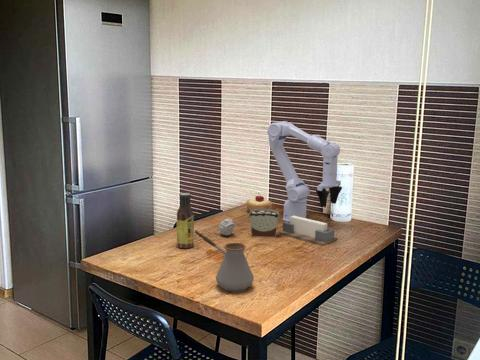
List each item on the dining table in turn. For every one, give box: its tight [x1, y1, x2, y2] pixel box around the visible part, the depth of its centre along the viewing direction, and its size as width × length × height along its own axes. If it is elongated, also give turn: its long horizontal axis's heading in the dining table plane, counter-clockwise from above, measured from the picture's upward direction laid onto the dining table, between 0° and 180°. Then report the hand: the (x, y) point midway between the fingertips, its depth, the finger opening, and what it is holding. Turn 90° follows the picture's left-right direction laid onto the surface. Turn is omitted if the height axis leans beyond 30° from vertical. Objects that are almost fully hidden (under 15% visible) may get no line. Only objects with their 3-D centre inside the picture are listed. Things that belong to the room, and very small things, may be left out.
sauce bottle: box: [176, 192, 195, 249], centre depth 195 cm, size 6×6×20 cm
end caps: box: [282, 220, 335, 242], centre depth 209 cm, size 20×6×4 cm, turn 48°
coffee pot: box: [192, 230, 255, 293], centre depth 162 cm, size 21×12×15 cm, turn 56°
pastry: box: [245, 192, 273, 213], centre depth 244 cm, size 12×12×9 cm
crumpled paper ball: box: [218, 218, 236, 236], centre depth 209 cm, size 6×7×7 cm
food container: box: [247, 209, 281, 239], centre depth 210 cm, size 12×6×10 cm, turn 84°
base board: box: [278, 230, 338, 246], centre depth 209 cm, size 21×10×1 cm, turn 48°
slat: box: [290, 216, 328, 238], centre depth 209 cm, size 16×2×6 cm, turn 48°
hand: (328, 204), depth 221 cm, fingers open, 7 cm apart
